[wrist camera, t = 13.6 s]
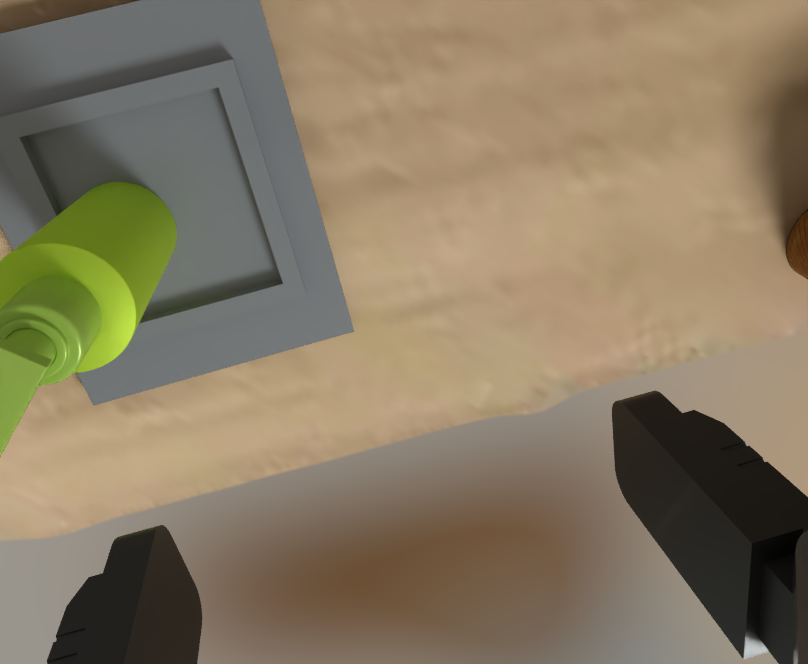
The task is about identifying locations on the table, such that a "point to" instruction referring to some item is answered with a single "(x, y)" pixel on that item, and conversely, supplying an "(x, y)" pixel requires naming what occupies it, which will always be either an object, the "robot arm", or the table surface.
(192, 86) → the stand
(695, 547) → the robot arm
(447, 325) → the table surface
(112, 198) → the soap dispenser
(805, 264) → the disposable coffee cup
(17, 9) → the table surface
